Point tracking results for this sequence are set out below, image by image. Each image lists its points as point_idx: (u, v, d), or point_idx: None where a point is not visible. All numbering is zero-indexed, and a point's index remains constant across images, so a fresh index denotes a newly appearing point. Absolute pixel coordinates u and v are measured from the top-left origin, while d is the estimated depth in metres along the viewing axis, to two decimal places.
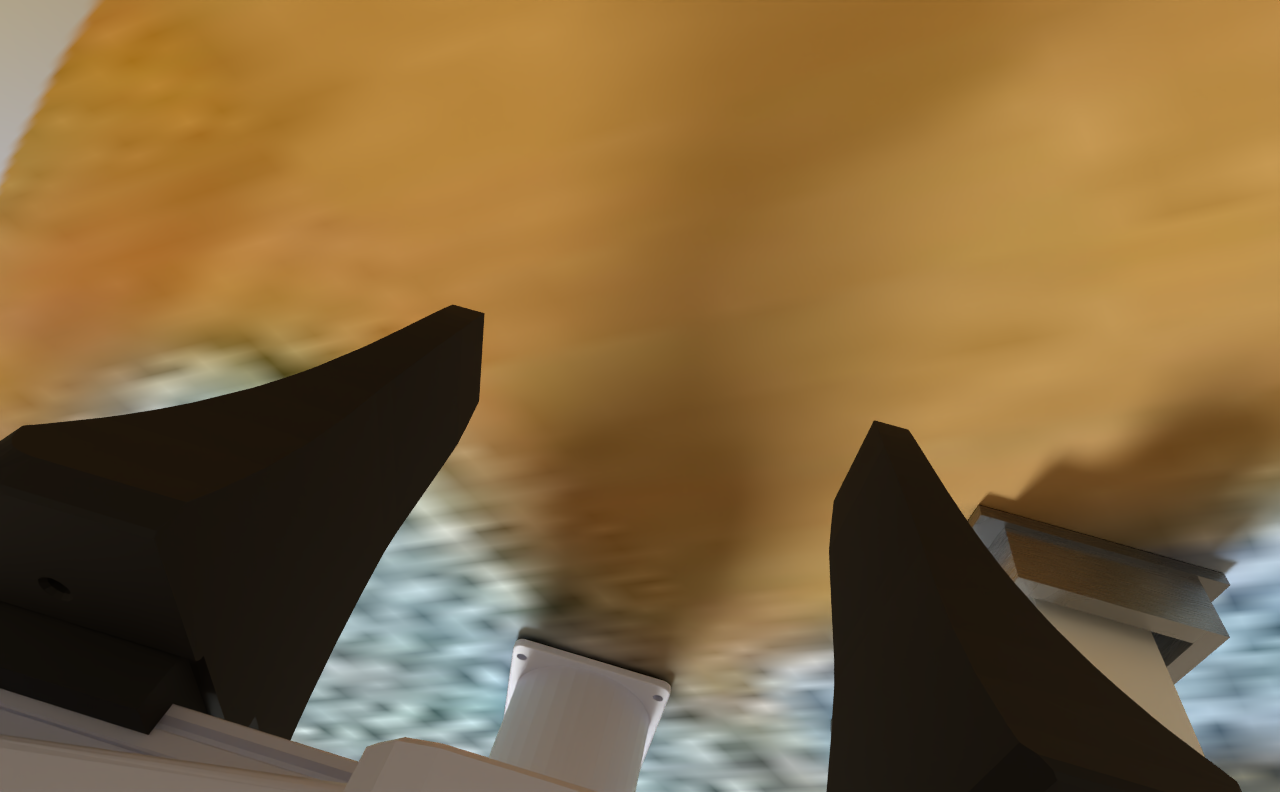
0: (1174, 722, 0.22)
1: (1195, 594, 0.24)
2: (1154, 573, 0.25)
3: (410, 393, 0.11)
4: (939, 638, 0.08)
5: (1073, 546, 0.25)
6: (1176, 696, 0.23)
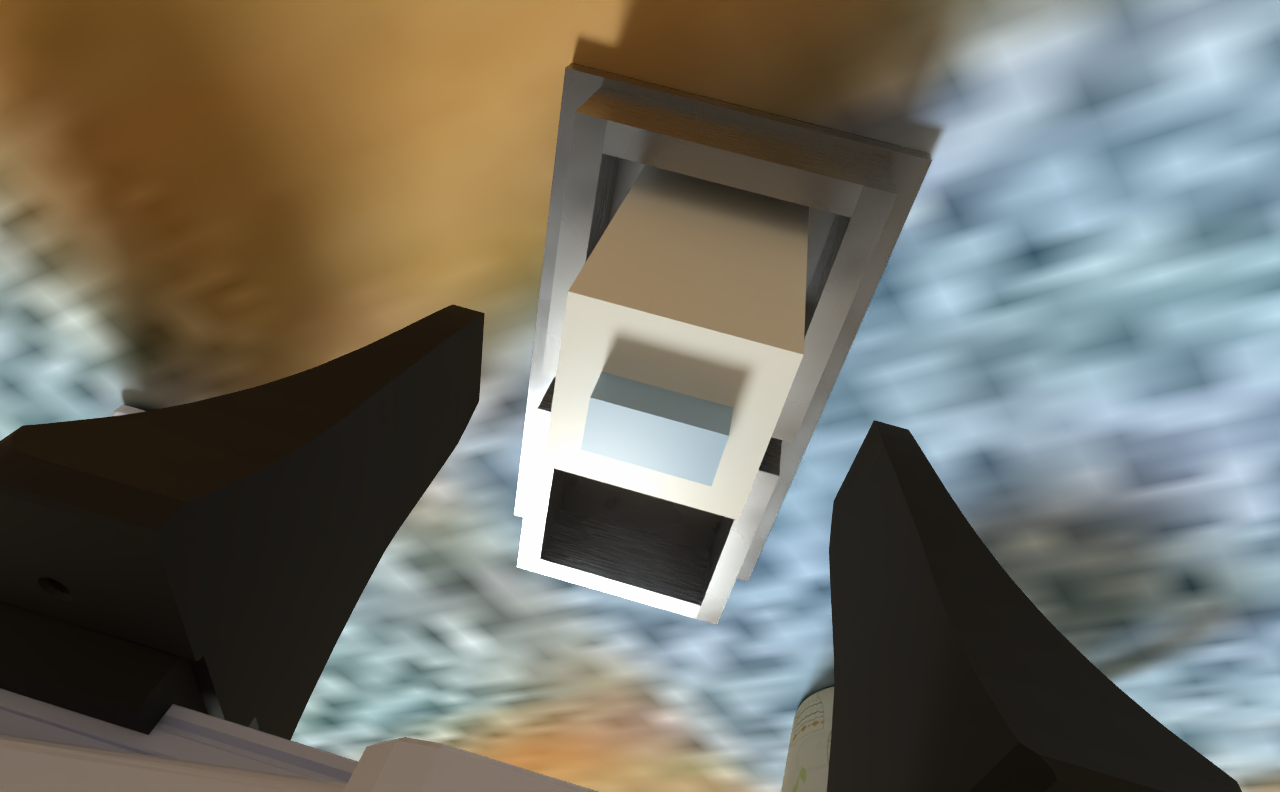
0: (776, 291, 0.13)
1: (871, 164, 0.16)
2: (817, 143, 0.16)
3: (410, 393, 0.11)
4: (939, 638, 0.08)
5: (704, 115, 0.17)
6: (802, 274, 0.14)
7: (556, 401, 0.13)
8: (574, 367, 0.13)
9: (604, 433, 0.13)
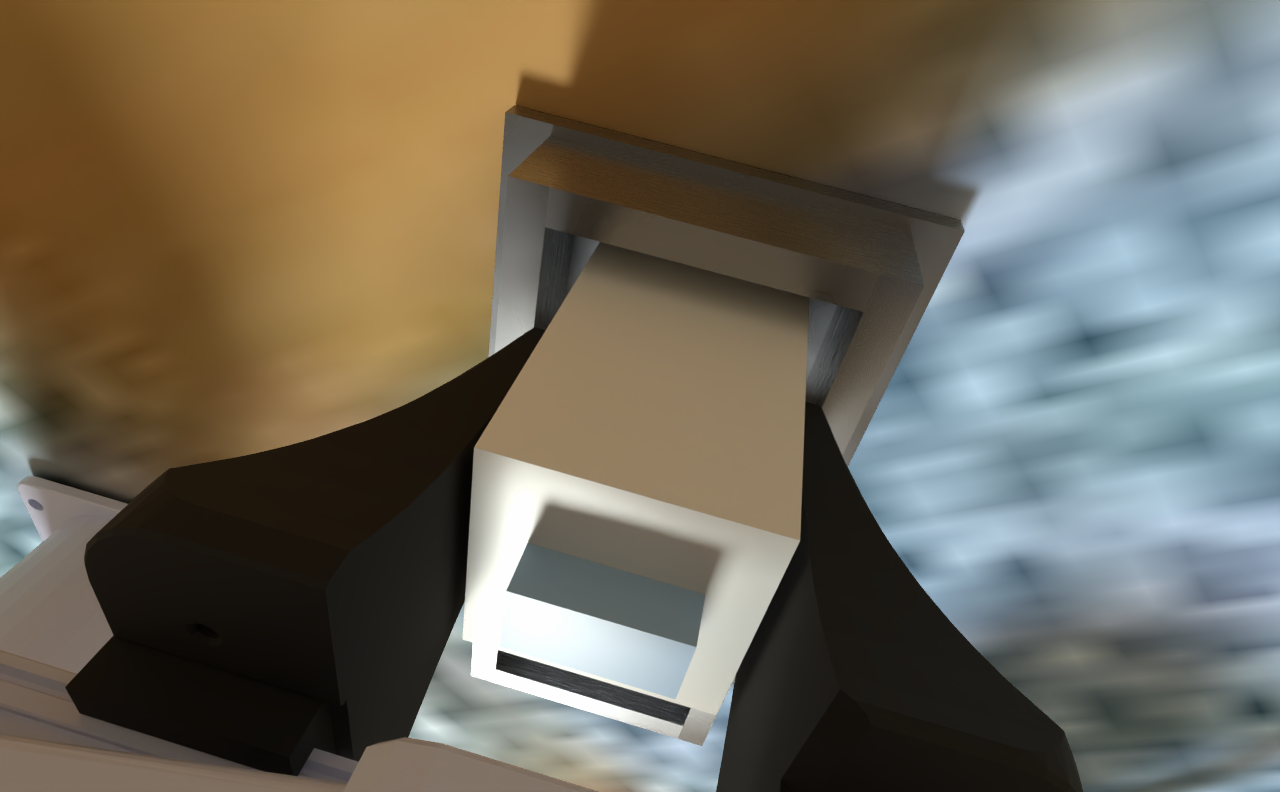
0: (766, 427, 0.10)
1: (888, 238, 0.12)
2: (820, 209, 0.13)
3: None
4: (805, 599, 0.08)
5: (678, 171, 0.13)
6: (799, 394, 0.11)
7: (472, 571, 0.10)
8: (491, 536, 0.10)
9: (529, 631, 0.09)
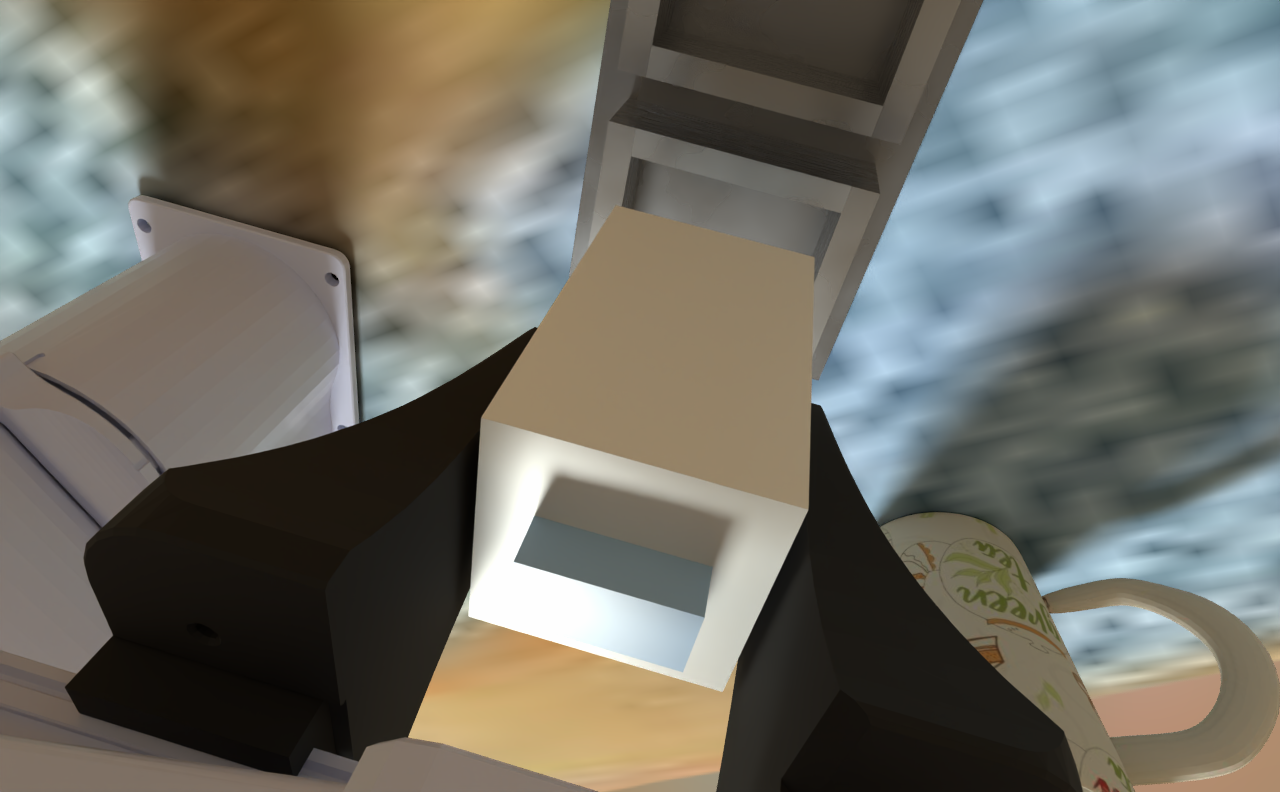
0: (772, 401, 0.10)
1: None
2: None
3: None
4: (804, 599, 0.08)
5: None
6: (806, 369, 0.11)
7: (478, 546, 0.10)
8: (498, 509, 0.09)
9: (537, 604, 0.09)
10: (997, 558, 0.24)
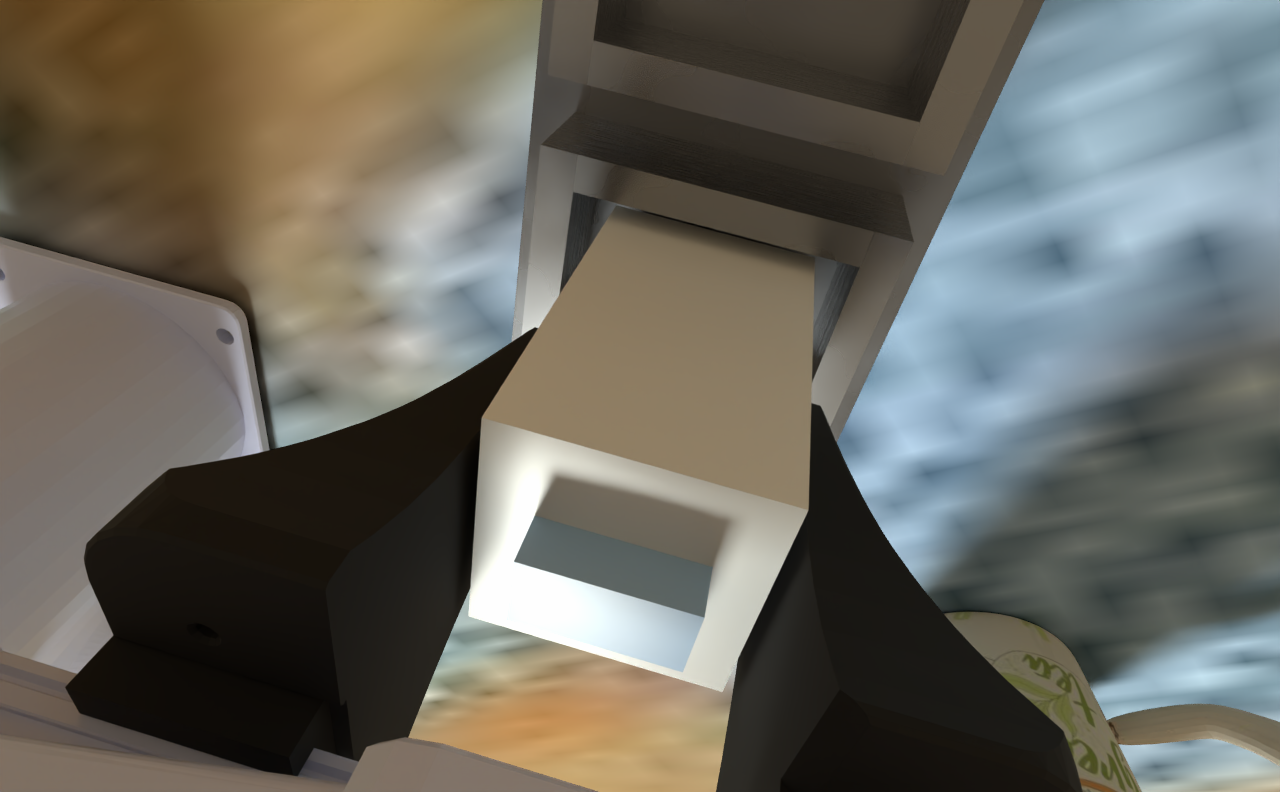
0: (772, 401, 0.10)
1: None
2: None
3: None
4: (804, 600, 0.08)
5: None
6: (806, 370, 0.11)
7: (478, 546, 0.10)
8: (498, 509, 0.09)
9: (536, 603, 0.09)
10: (1053, 679, 0.19)
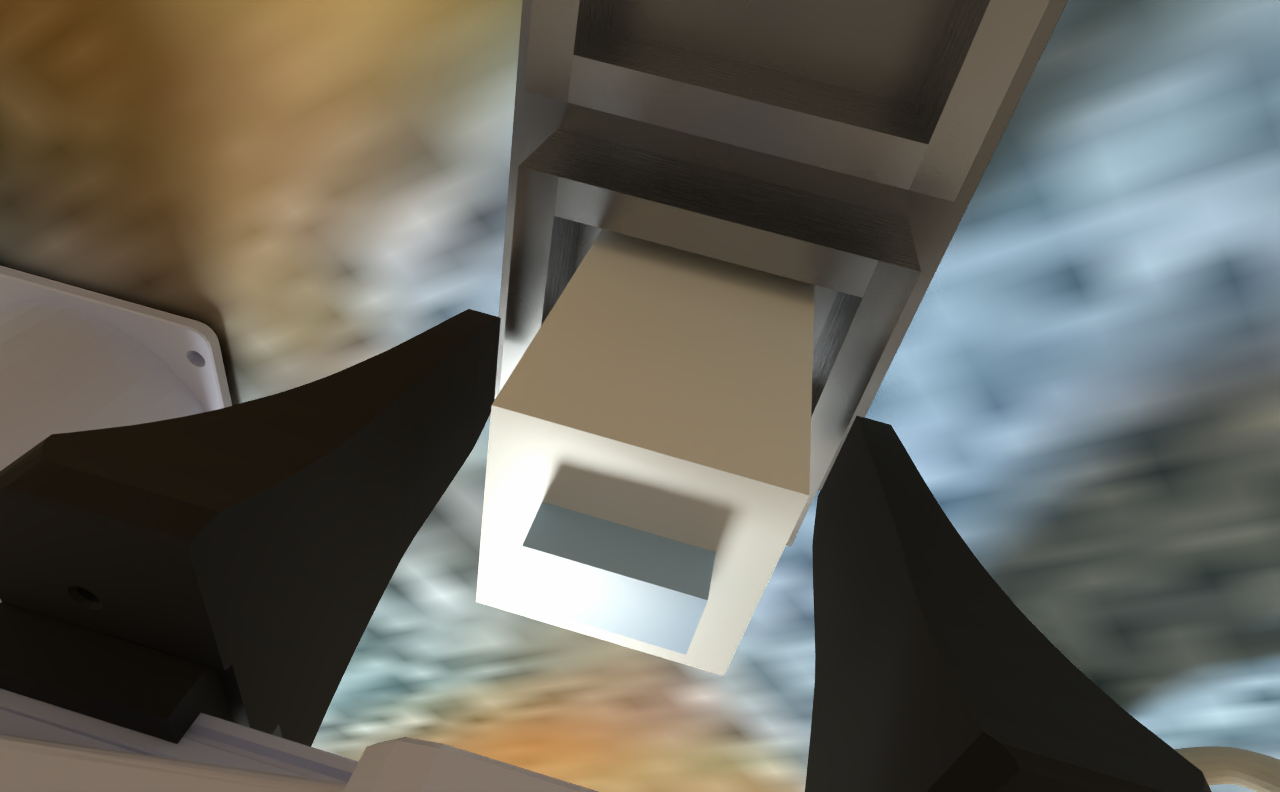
0: (773, 391, 0.10)
1: None
2: None
3: (430, 398, 0.11)
4: (912, 630, 0.08)
5: None
6: (807, 361, 0.11)
7: (486, 532, 0.10)
8: (506, 495, 0.10)
9: (544, 587, 0.09)
10: None
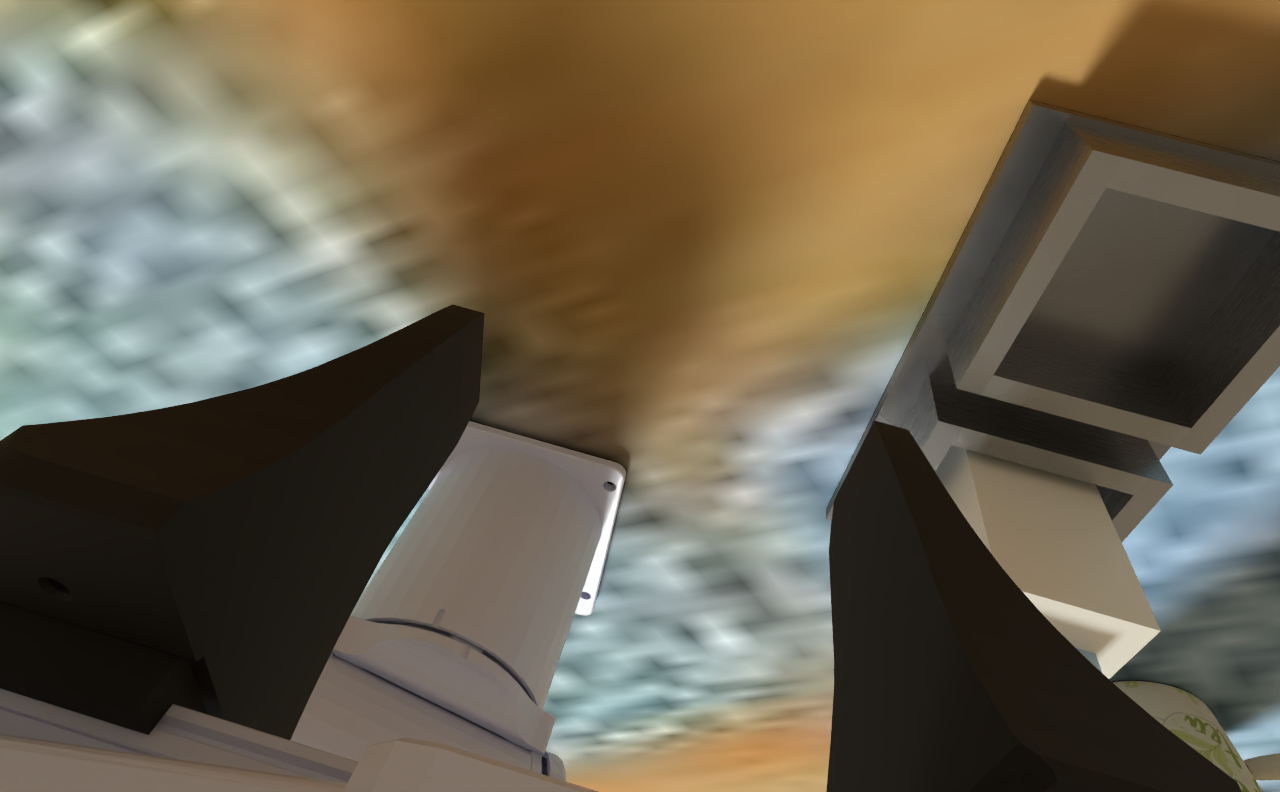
0: (1113, 564, 0.19)
1: None
2: (1279, 177, 0.17)
3: (410, 393, 0.11)
4: (938, 639, 0.08)
5: (1163, 149, 0.18)
6: (1118, 541, 0.20)
7: None
8: None
9: None
10: (1208, 734, 0.27)
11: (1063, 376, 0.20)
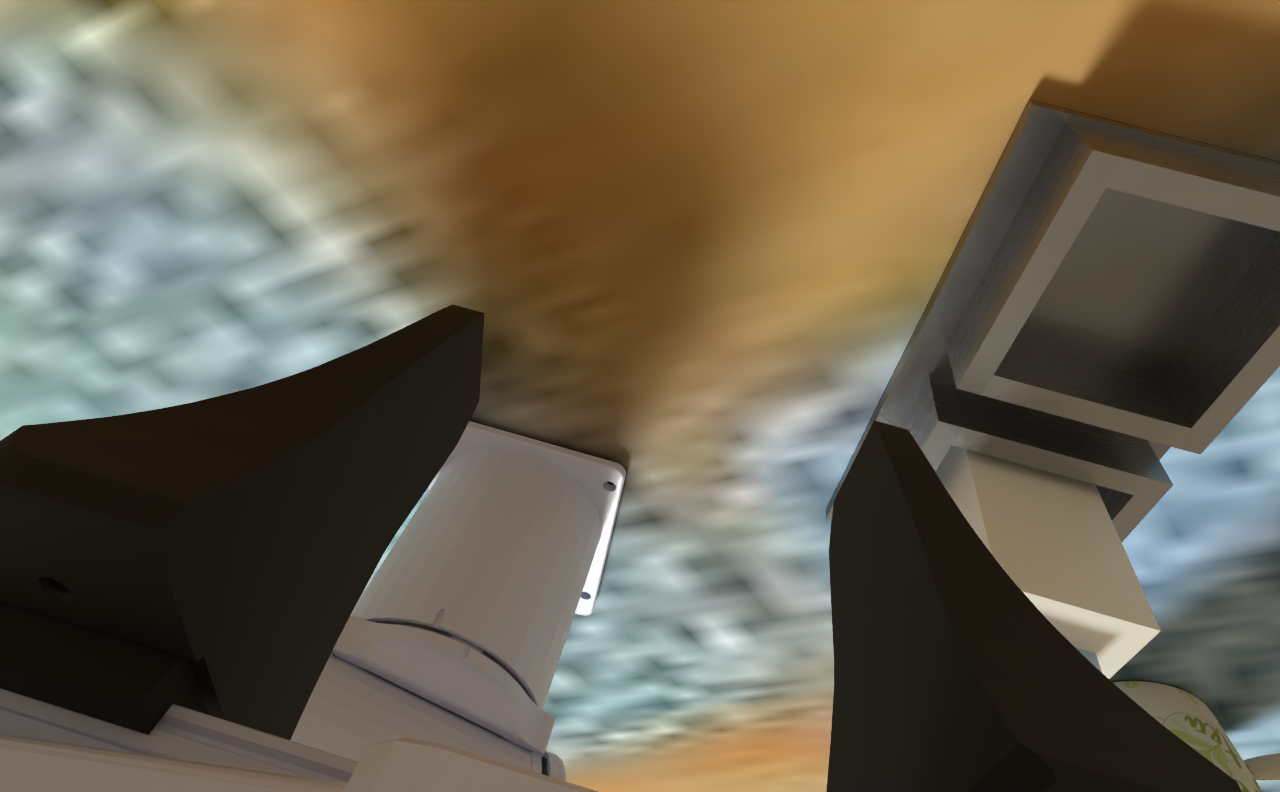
0: (1113, 564, 0.19)
1: None
2: (1279, 177, 0.17)
3: (410, 393, 0.11)
4: (938, 639, 0.08)
5: (1163, 149, 0.18)
6: (1118, 541, 0.20)
7: None
8: None
9: None
10: (1208, 734, 0.27)
11: (1063, 376, 0.20)
